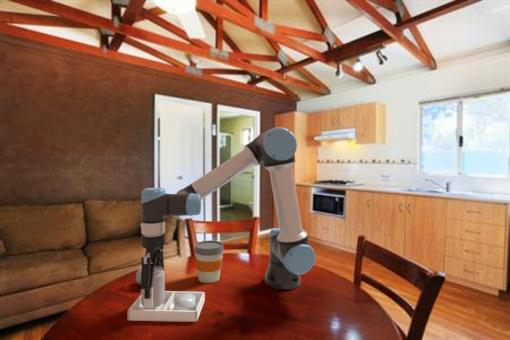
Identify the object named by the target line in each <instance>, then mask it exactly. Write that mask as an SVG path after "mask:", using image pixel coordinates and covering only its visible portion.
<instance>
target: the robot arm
mask: <svg viewBox="0 0 510 340" xmlns="http://www.w3.org/2000/svg"><path fill="white" fill-rule="evenodd" d="M297 147H298V142H297V137H296V136H295V135H294V133H293V132H292V131H291V130H289V129H287V128H286V127H273V128H270V129H268V130H265V131H263V132H261V133H260V134H259V135H257V137H255V138H253V140H251V141H250V142H249V143H247V144H246V145H244V147H243V150H241V151H240V152H238V153H236V154H235V155H233V156H232V157H230V158H228V159H227V160H226V161H224V162H222V163H220V164H219V165H218V166H217V167H215V168H213V169H211V170H210V171H208V172H207V173H206V174H204V175H202V176H201V177H200V178H198V179H196V180H194V181H193V182H192V183H190V184H189V185H186V187H184V188H181V189H178V191H176V193H166V189H165V188H163V187H146V188H143V190H142V191H141V201H140V212H141V213H140V216H141V217H140V220H141V222H140V224H139V227H141V228H140V230H141V231H140V233H141V237H140V246H141V247H142V248H145V253H144V254H145V255H144V257H141V259H140V260H141V266H142V270H141V284H140V290H141V289H144V308H152V307H153V287H152V281H153V273H154V266H160V267H162V268H163V271H164V272H165V267H164V266H165V262H164V261H165V260H164V245H165V244H166V234H165V233H166V217H171V216H172V217H177V216H178V217H179V216H180V217H181V216H183V217H184V216H188V217H191V216H198V215H200V214H201V213H202V212H201V211H202V200H203V199H204V198H206V197H208V196H210V195H211V194H212V193H214V192H215V191H217V190H219V189H220V188H221V187H223V186H224V185H226V184H228V183H230V182H231V181H232V180H234V179H235V178H236V177H238V176H240V175H241V174H243V173H244V172H246V171H247V170H249V169H250V168H252V167H254V166H255V167H258V166H260V165H261V164H262V163H263V166H264V169H266V170H267V171H268V172H269V178H270V183H271V188H272V189H271V190H272V195H273V200H274V206H275V213H276V219H277V223H278V227H274V228H272V229H270V231H269V253H268V254H269V261H268V262H269V263H268V266H267V269H266V272H265V274H264V283H265V284H266V285H267V286H269V287H270V288H272V289H276V290H283V291H285V290H286V291H287V290H293V289H297V288H298V287H299V286H300V285H301V276H300V275H303V274H306V273H308V272H309V271H311V269H312V268H313V267H314V265H315V263H316V258H317V257H316V252H315V250H314V249H313V247H312V246H311V245H310V241H309V235H308V232H307V231H306V230H304V228H303V225H302V220H301V214H300V213H301V212H300V207H299V201H298V195H297V188H296V184H295V183H296V182H295V177H294V170H293V166H294V165H295V164H296V157H295V153H296V151H297Z"/></svg>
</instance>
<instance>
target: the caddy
mask: <svg viewBox="0 0 510 340" xmlns="http://www.w3.org/2000/svg"><path fill="white" fill-rule="evenodd" d="M180 294H193V295H194V296H195V311H188V310H174V298H175V297H176V296H178V295H180ZM205 294H206V292H205V291H175V290H173V291H172V290H171V291H170V290H168V291H167V290H165V300H164V302H163V303H162V304H161V305H160V306H158V307H156V308H144V306H142V304H141V294H140V295H139V296H138V298H136V300H135V301H134V302H133V303H132V304H131V305H130V307H128V309H127V313H126V314H127V315H126V316H127V321H134V322H137V321H138V322H141V321H142V322H144V321H145V322H183V323H185V322H188V323H190V322H192V323H197V322H198V321H199V320H198V319H199V317H200V314H201V311H202V309H203V307H204V303H205V301H206V295H205Z"/></svg>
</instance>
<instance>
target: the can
mask: <svg viewBox="0 0 510 340" xmlns="http://www.w3.org/2000/svg"><path fill="white" fill-rule="evenodd" d="M165 275H166V271H165V270H164V271H163V268H162V267H160V266H154V273H153V281H152V287H153V307H152V308H156V307H158V306H160V305H161V304H162V303H163V302H164V300H165V291H166V290H165V289H166V288H165V285H166V284H165V283H166V281H165V279H166V278H165V277H166V276H165ZM140 295H141V304H142V306H144V289H140Z"/></svg>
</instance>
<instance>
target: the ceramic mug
mask: <svg viewBox="0 0 510 340" xmlns="http://www.w3.org/2000/svg"><path fill="white" fill-rule="evenodd" d="M141 270H142V265H141V266H140V267H139V268H138V269H137V271H136V275H135V282H136V283H137V284H138V285H141Z"/></svg>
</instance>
